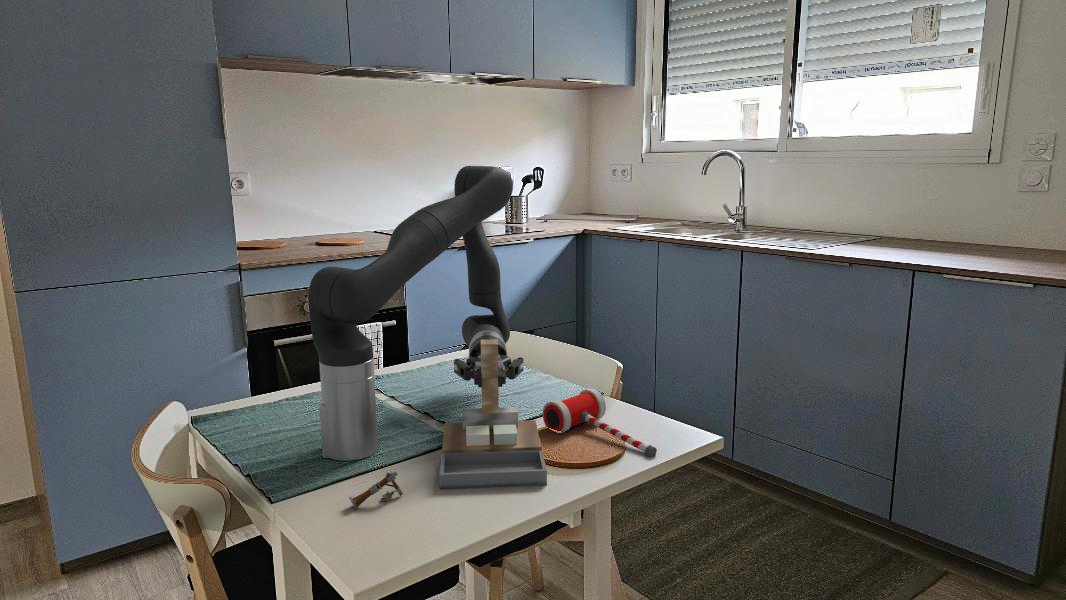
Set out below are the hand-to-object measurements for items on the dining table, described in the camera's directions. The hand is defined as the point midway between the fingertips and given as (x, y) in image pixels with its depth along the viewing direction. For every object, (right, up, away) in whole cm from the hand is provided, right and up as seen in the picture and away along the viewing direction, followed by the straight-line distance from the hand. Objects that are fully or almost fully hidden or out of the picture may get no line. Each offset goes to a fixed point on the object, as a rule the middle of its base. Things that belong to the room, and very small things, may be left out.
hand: (490, 381), depth 126 cm
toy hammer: (+20, -11, +11) cm, 25 cm away
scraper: (0, -9, +5) cm, 10 cm away
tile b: (+3, -10, 0) cm, 11 cm away
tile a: (-2, -10, -1) cm, 11 cm away
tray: (+1, -15, -7) cm, 16 cm away
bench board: (0, -13, +3) cm, 13 cm away
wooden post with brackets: (-17, -17, -15) cm, 29 cm away
